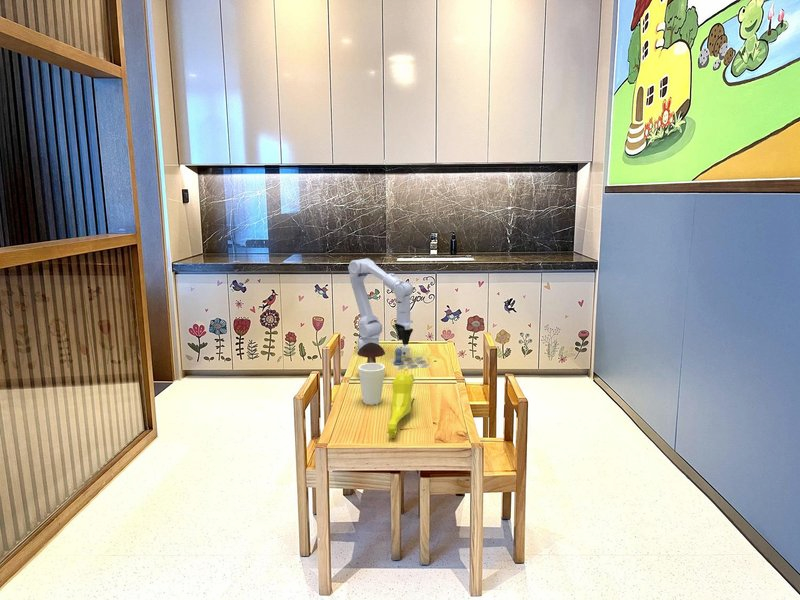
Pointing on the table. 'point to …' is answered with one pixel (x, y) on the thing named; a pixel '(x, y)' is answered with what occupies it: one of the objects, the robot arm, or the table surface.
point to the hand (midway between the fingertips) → (403, 342)
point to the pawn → (398, 357)
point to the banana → (400, 400)
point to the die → (404, 349)
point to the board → (412, 363)
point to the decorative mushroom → (371, 352)
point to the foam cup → (371, 382)
